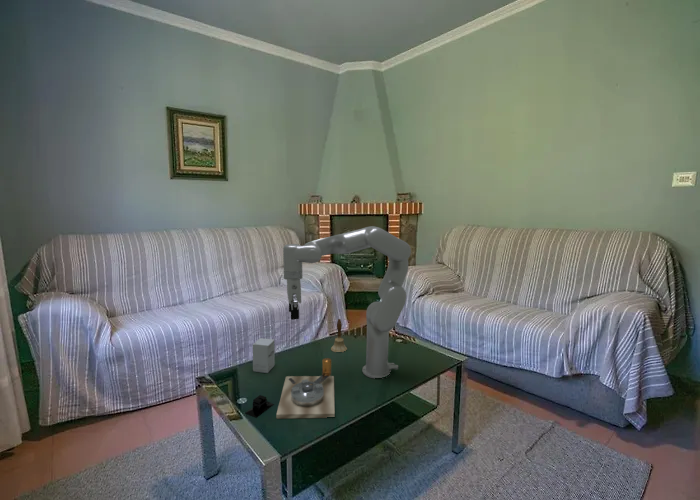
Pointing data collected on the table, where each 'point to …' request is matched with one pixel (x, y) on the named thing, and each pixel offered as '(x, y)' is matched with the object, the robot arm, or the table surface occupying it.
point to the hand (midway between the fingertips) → (293, 315)
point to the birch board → (317, 411)
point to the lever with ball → (311, 388)
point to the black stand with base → (259, 406)
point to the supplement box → (263, 355)
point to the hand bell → (339, 340)
